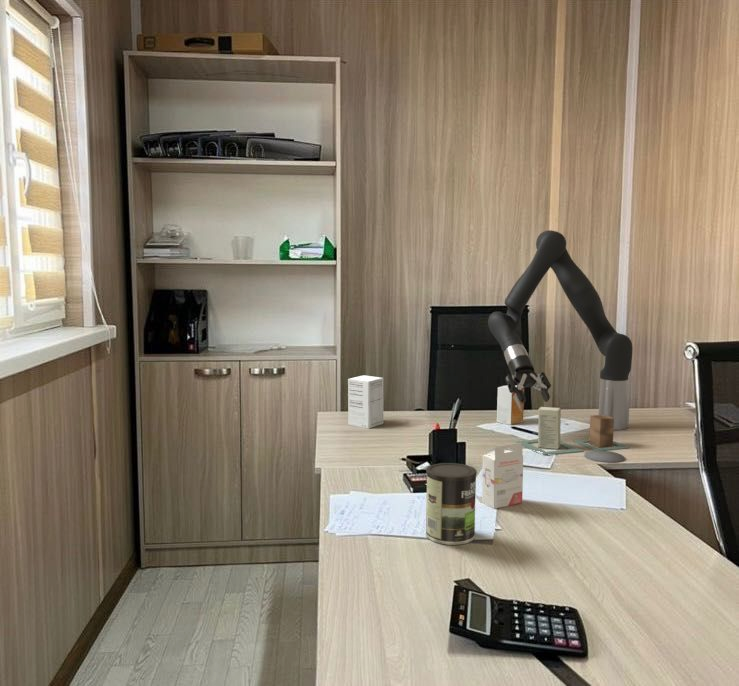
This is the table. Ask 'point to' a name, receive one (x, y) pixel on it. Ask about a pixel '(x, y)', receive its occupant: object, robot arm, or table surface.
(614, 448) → the frame
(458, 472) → the coffee can
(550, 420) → the skincare box
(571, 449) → the frame
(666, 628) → the table surface
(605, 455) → the felt coaster
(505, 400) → the small box
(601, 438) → the walnut block
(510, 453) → the ink cartridge box
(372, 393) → the supplement box
